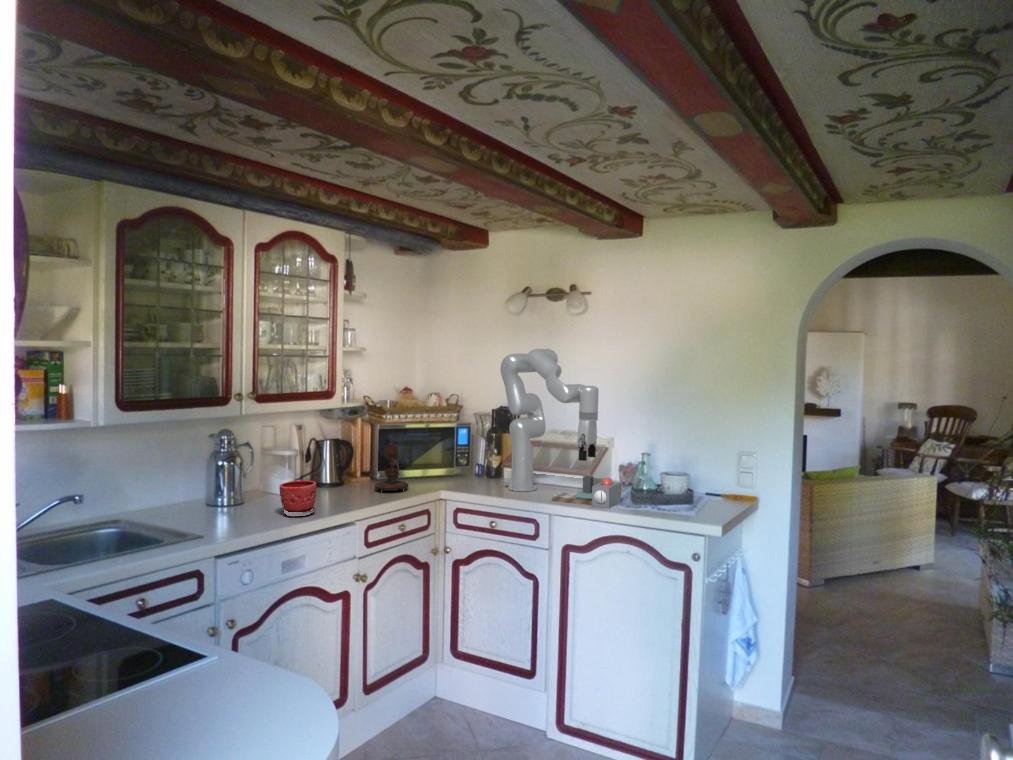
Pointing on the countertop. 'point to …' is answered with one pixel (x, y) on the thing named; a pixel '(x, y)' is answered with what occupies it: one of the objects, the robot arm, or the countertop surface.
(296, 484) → the plant pot
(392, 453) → the dark wooden figurine
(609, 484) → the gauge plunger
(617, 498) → the gauge cabinet
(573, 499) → the rail board
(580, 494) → the carriage
